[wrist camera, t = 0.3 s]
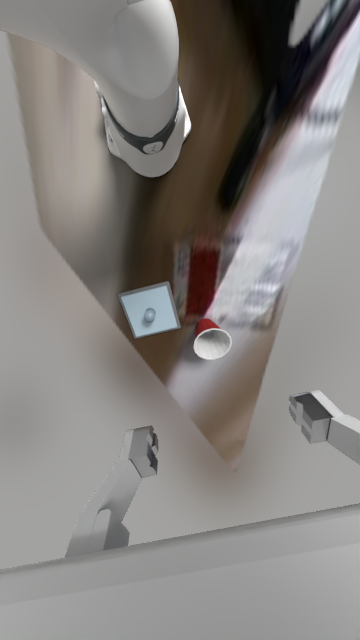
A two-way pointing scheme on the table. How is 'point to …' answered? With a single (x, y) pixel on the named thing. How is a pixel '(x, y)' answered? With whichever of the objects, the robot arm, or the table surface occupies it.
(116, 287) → the table surface
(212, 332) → the plastic cup
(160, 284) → the grey flat square plate
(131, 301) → the lid
